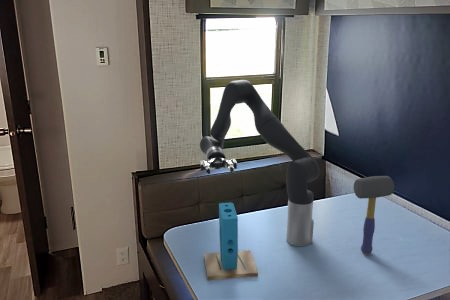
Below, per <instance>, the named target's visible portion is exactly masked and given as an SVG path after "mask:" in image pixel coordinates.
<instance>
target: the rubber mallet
mask: <svg viewBox="0 0 450 300" xmlns="http://www.w3.org/2000/svg"><path fill="white" fill-rule="evenodd" d="M394 191H395V182H394V180H393V178H391V177H390V176H388V175H374V176H368V177H367V176H366V177H361V178H356V179H355V181H354V183H353V192H354V195H355V196H356V197H357V198H358V199H368V202H367V208H366V216H365V219H364V223H363V227H362V228H363V229H362V231H363V235H362V244H361V247H360V250H361V252H362V254H363V255H367V256H368V255H371V254H372V252H373V238H374V233H375V228H376V227H375V225H376V223H375V222H376V219H375V212H376V211H375V210H376V200H377V198H384V197H389V196H392V194H393V193H394Z"/></svg>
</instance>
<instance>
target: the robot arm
mask: <svg viewBox="0 0 450 300" xmlns="http://www.w3.org/2000/svg"><path fill="white" fill-rule="evenodd" d="M223 89H224V90H223V93H222V96H221V101H220V105H219V109H218V110H217V111H218V112H217V116H216V118H215V120H214V122H213V124H212V126H211V128H210V130H209V131H210V132H209V133H210V136H208V135H207V136H206V135H205V136H203V137H202V138H201V140H200V141H199V147H200V150H201V152H202V153H203V154H205V156H206V157H205V158H206V161H205V160H203V159H200V161H199V162H200V171H203V172H204V171H205V173H207V175H210V174H211V171H213V170H221V169H223V170H229V172H230V173H233V172H234V170H237V169H238V161H237V160H236V159H235V158H234V157H232V158H230V159H227V158H226V155H225V152H224V144H225V143H224V142H225V138H226V136H227V135H228V132H229V130H230V128H231V124H232V119H231V117H232V116H231V112H232V110H233V108H234V107H235V106H236V105H238V104H245V105H246V106H248V108H249V109H250V110H251V113H252V114H253V120H254V126H255V130H256V131H257V133H258V134H259V135H260V136H261V138H262V139H263V140H264V141H265V143H267V144H268V145H269V146H271V148H274V149H276V150H277V151H279V152H281V153H283V154H285V155H286V156H287V157H288V158H289V159H290V160H291V162H289V163H288V165H287V167H286V176H285V177H286V180H285V181H286V193H287V195H288V201H287V216H286V217H287V219H286V220H287V221H286V223H287V224H286V242H287V243H288V244H290V245H292V246H295V247H306V246H308V245H310V244H313V239H314V224H315V223H314V219H313V209H314V192H312V191H311V190H309V189H308V183H311V182H313V181H315V180H317V179H318V178H319V176H320V175H321V169H320V165H319V164H318V162H317V160H316V159H315V158H314V157H313V156H312V155H311V154H310V153H309V152H308V151H307V150H306V149H305V148H304V147H303V146H302V145H300V143H299V142H298V141H297V140H296V139H295V137H293V135H292V134H291V133H290V131H288V130H287V129H286V127H285V126H284V124H283V123H282V122H281V120H280V119H279V118H278V116H276V115H275V114H274V113H273V112H272V110H271V109H270V108H269V107H268V105H267V104H266V102H264V100H263V99H262V97H261V95H260V94H259V93H258V91H257V90H256V88H255V86H254V85H253V84H252V83H251V81H249V80H246V79H240V80H232V81H230V82H228V83H227V84H226V85H225V87H224V88H223Z"/></svg>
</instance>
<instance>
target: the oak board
mask: <svg viewBox="0 0 450 300" xmlns="http://www.w3.org/2000/svg"><path fill="white" fill-rule="evenodd" d="M203 257H204V263H205V265H204V266H205V272H206V279H207V281H218V280H229V279H243V278H245V279H246V278H255V277H259V270H258V267H257V265H256V263H255V259H254V256H253V252H252V250H249V249H248V250H238V261H237V269H232V270H223V268H222V261H221V258H220V252H210V253H209V252H207V253H206V252H205V253H203Z"/></svg>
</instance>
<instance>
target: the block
mask: <svg viewBox="0 0 450 300" xmlns="http://www.w3.org/2000/svg"><path fill="white" fill-rule="evenodd" d="M238 217H239V216H238V215H237V212H236V208H235V205H234V203H233V202H219V203H218V219H219V220H218V221H219V223H218V226H219V228H218V229H219V230H218V231H219V232H218V233H219V253H220V258H221V261H222V268H223V270H232V269H237V261H238V251H239V247H238V246H239V244H238V243H239V239H238V238H239V226H238V225H239V222H238V221H239V219H238Z"/></svg>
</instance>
